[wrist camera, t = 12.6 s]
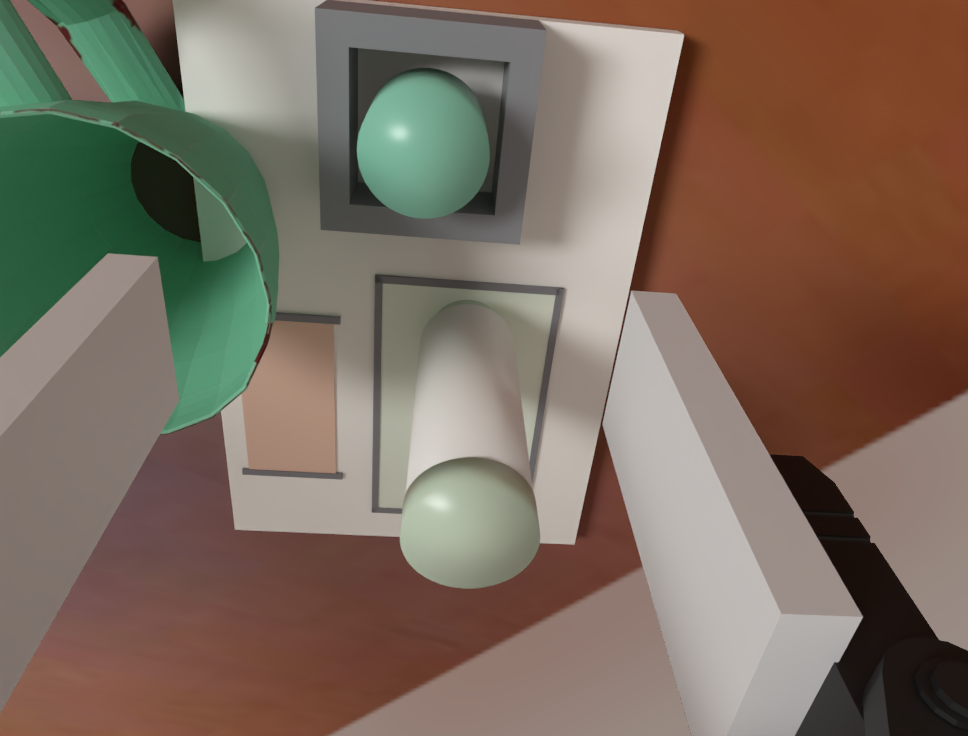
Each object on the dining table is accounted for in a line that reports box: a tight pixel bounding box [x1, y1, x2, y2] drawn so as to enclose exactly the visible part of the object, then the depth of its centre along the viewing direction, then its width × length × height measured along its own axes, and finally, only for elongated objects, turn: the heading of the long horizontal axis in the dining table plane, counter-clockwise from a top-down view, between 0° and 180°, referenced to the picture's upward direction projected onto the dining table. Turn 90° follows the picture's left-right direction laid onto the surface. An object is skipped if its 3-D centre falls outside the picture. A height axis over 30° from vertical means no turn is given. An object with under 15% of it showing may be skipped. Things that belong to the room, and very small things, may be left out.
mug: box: [0, 0, 279, 435], centre depth 23 cm, size 15×10×10 cm
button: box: [357, 68, 490, 219], centre depth 23 cm, size 4×4×3 cm
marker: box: [400, 300, 540, 589], centre depth 25 cm, size 4×4×12 cm
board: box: [172, 0, 684, 545], centre depth 30 cm, size 17×24×4 cm
